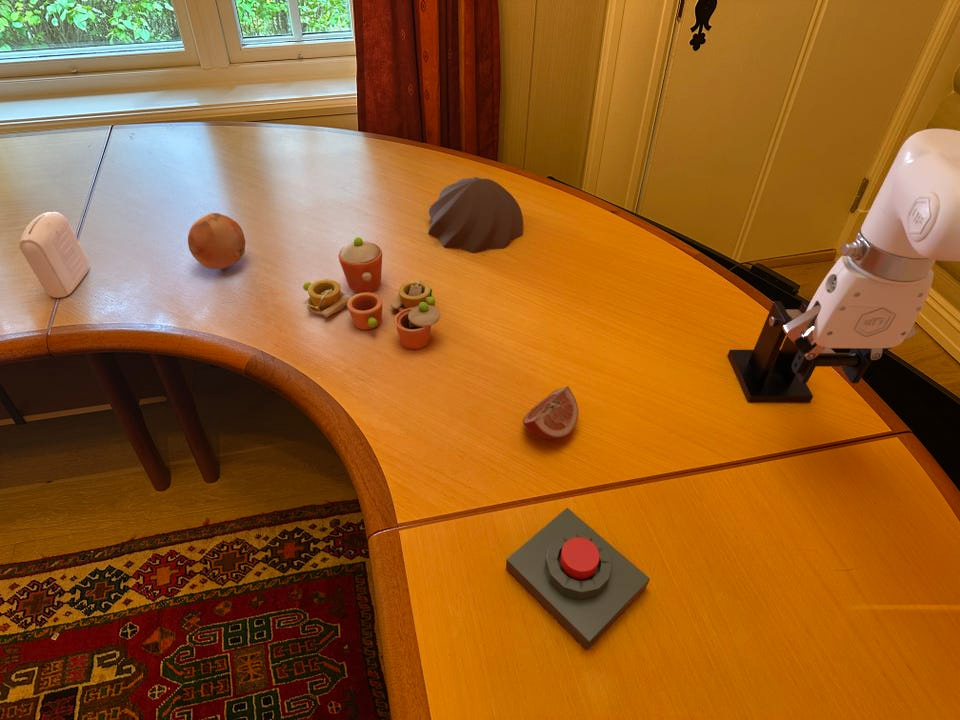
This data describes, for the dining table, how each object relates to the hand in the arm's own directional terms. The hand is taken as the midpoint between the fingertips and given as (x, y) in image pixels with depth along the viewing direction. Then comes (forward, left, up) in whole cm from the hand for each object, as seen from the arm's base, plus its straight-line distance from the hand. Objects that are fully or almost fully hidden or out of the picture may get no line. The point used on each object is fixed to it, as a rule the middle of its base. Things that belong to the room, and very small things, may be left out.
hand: (824, 374), depth 76 cm
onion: (+91, +41, -11) cm, 100 cm away
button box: (+6, +39, -11) cm, 40 cm away
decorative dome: (+70, -3, -11) cm, 71 cm away
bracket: (+8, -7, -11) cm, 15 cm away
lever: (+4, -3, 0) cm, 5 cm away
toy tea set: (+60, +27, -11) cm, 66 cm away
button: (+6, +39, -7) cm, 40 cm away
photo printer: (+104, +64, -11) cm, 122 cm away
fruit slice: (+23, +25, -11) cm, 35 cm away
